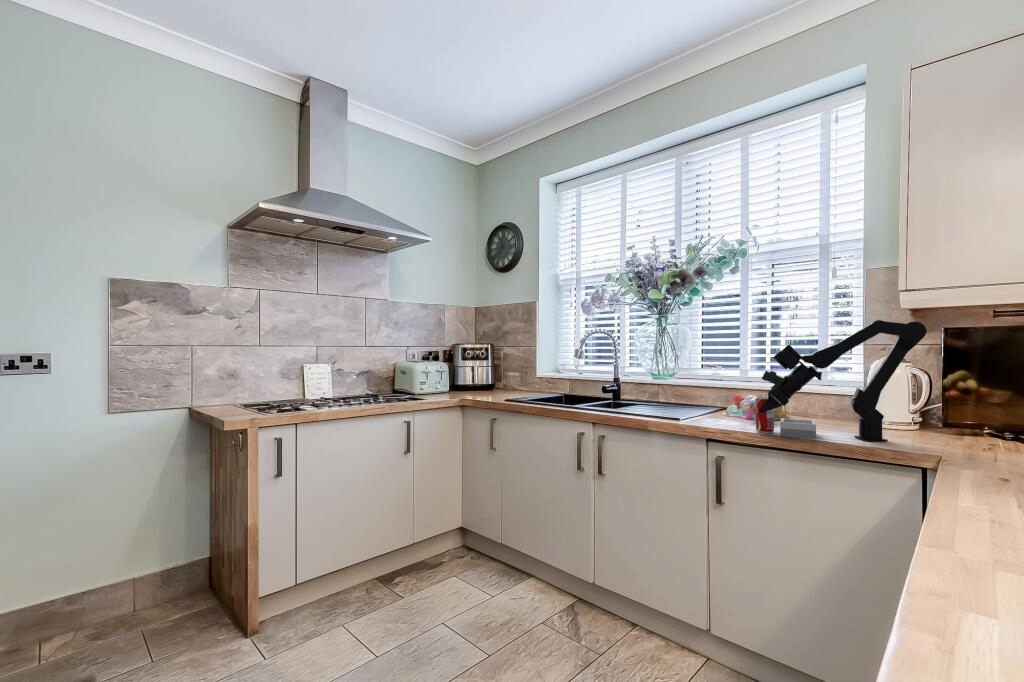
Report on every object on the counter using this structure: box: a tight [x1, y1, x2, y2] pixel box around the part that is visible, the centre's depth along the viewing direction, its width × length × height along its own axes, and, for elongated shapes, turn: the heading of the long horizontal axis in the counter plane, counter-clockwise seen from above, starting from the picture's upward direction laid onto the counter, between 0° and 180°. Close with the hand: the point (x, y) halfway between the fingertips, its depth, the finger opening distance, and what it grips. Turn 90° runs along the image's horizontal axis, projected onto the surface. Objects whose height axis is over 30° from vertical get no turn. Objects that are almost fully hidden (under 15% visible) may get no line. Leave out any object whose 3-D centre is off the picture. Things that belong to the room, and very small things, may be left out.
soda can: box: [755, 396, 775, 434], centre depth 170 cm, size 6×6×12 cm
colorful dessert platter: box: [722, 393, 790, 421], centre depth 207 cm, size 25×24×9 cm
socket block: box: [779, 417, 817, 440], centre depth 164 cm, size 10×10×4 cm
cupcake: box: [750, 391, 775, 422], centre depth 189 cm, size 9×8×12 cm
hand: (760, 410), depth 171 cm, fingers closed on soda can, 6 cm apart
